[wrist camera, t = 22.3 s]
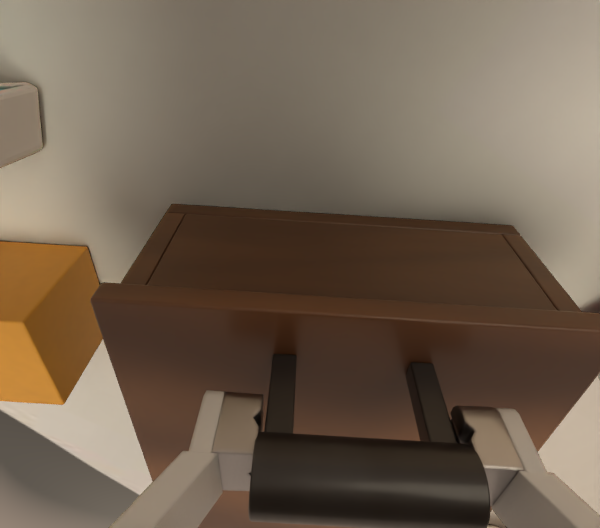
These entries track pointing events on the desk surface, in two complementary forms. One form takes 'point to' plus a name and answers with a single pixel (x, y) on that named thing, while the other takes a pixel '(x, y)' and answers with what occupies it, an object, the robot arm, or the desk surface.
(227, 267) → the chest
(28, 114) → the handheld gaming console
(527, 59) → the desk surface
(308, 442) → the lid
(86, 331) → the block
